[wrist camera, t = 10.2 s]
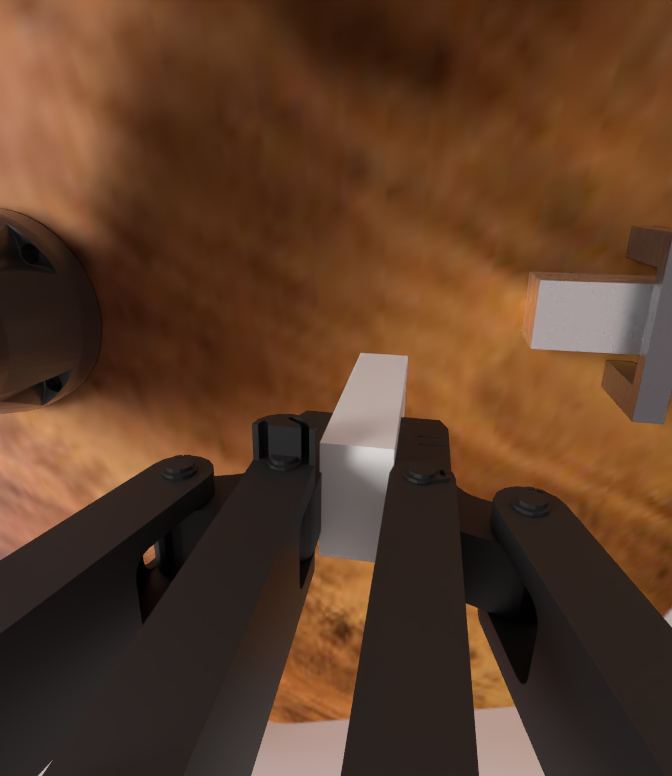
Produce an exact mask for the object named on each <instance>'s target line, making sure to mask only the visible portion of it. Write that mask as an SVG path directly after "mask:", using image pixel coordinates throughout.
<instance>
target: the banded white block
mask: <svg viewBox="0 0 672 776" xmlns="http://www.w3.org/2000/svg"><path fill="white" fill-rule="evenodd" d="M655 278H656V276H650V275H620V274H590V273H561V272H531V271H529V278H528V286H527V293H526V301H525V308H524V316H523V323H522V331H521V334H522V335H523V337H524V339H525V340H526V342H527V344H528V345H529V347H530V348H531V349H544V350H562V351H580V352H598V353H615V354H633V355H639V354H640V349H641V344H642V340H643V335H644V330H645V325H646V321H647V316H648V311H649V307H650V302H651V297H652V292H653V288H654V283H655Z"/></svg>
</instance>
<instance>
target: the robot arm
mask: <svg viewBox="0 0 672 776" xmlns="http://www.w3.org/2000/svg"><path fill="white" fill-rule="evenodd" d="M100 343H101V318H100V311H99V306H98V302H97V299H96V296H95V293H94V290H93V287H92V285H91V283H90V281H89V278H88V276H87V275H86V273H85V271H84V269H83V267H82V266H81V264H80V263H79V261H78V260H77V258H76V257H75V256H74V254H73V253H72V252H71V251H70V249H69V248H68V247H67V246H66V245H65V244H64V243H63V242H62V241H61V240H60V239H59V238H58V237H57V236H56V235H55V234H53V233H52V232H51V231H50V230H48V229H47V228H46V227H44V226H43V225H41V224H40V223H38V222H36V221H35V220H33V219H31V218H29V217H27V216H25V215H22V214H20V213H17V212H14V211H11V210H6V209H1V208H0V414H5V413H15V412H25V411H31V410H35V409H38V408H42V407H44V406H47V405H49V404H51V403H53V402H55V401H57V400H59V399H61V398H63V397H64V396H66V395H68V394H70V393H71V392H73V391H74V390H76V389H77V388H78V387H79V386H80V385H81V384H82V383H83V382H84V381H85V380H86V378H87V377H88V376H89V374H90V373H91V371H92V369H93V367H94V365H95V363H96V360H97V357H98V353H99V349H100ZM407 368H408V356H402V355H387V354H371V353H360V355H359V357H358V360H357V362H356V364H355V366H354V368H353V371H352V373H351V375H350V377H349V379H348V382H347V384H346V386H345V388H344V391H343V393H342V395H341V397H340V399H339V402H338V404H337V406H336V408H335V410H334V413H329V412H317V411H306V412H304V413H302V414H300V415H293V414H277V415H270V416H266V417H263V418H260V419H258V420H257V421H255V422H254V423H253V424H252V431H253V457H254V460H253V461H252V463H251V464H250V466H249V467H248V469H247V470H246V472H245V473H243V474H235V475H223V476H214V468H213V464H212V463H211V462H210V461H209V460H207V459H205V458H202V457H198V456H191V455H184V456H182V455H177V456H174V457H172V458H167V459H164V460H162V461H160V462H157V463H155V464H153V465H152V466H150V467H149V468H147V469H145V470H144V471H142V472H141V473H139V474H137V475H136V476H134V477H133V478H131V479H129V480H128V481H126V482H125V483H123V484H121V485H120V486H118V487H117V488H115V489H114V490H112V491H110V492H109V493H107V494H106V495H104V496H102V497H101V498H99V499H98V500H96V501H94V502H93V503H91V504H90V505H88V506H86V507H85V508H83V509H82V510H80V511H78V512H77V513H75V514H74V515H72V516H70V517H69V518H67V519H66V520H64V521H62V522H61V523H59V524H58V525H56V526H55V527H53V528H51V529H50V530H48V531H47V532H45V533H43V534H42V535H40V536H39V537H37V538H35V539H34V540H32V541H31V542H29V543H27V544H26V545H24V546H23V547H21V548H19V549H18V550H16V551H15V552H13V553H11V554H10V555H8V556H7V557H5V558H3V559H2V560H0V776H38V775H39V774H40V773H41V772H42V771H43V770H44V768H45V767H46V766H47V765H48V764H49V763H50V762H51V761H52V762H51V764H50V765H49V766H48V768H47V770H46V771H45V772H44V774H43V775H42V776H251V774H252V771H253V767H254V764H255V761H256V757H257V754H258V751H259V748H260V744H261V741H262V738H263V735H264V731H265V728H266V725H267V722H268V719H269V716H270V712H271V709H272V706H273V703H274V699H275V696H276V693H277V690H278V686H279V683H280V680H281V677H282V674H283V670H284V667H285V664H286V661H287V657H288V654H289V651H290V648H291V644H292V641H293V638H294V635H295V632H296V628H297V625H298V622H299V619H300V615H301V612H302V609H303V606H304V602H305V599H306V596H307V593H308V589H309V586H310V583H311V580H312V577H313V573H314V564H315V548H316V545H317V542H318V539H319V555H321V556H329V557H337V558H345V559H353V560H361V561H369V562H375V565H374V571H373V578H372V584H371V590H370V596H369V603H368V609H367V615H366V621H365V628H364V634H363V640H362V646H361V653H360V659H359V665H358V671H357V678H356V684H355V690H354V696H353V703H352V709H351V715H350V721H349V728H348V734H347V741H346V747H345V753H344V759H343V765H342V771H341V776H479V771H478V759H477V745H476V734H475V733H476V732H475V719H474V707H473V694H472V681H471V668H470V655H469V642H468V630H467V617H466V604H465V603H467V604H469V605H472V606H474V607H477V608H478V617H479V621H480V624H481V626H482V628H483V631H484V633H485V636H486V638H487V640H488V643H489V645H490V647H491V650H492V652H493V654H494V657H495V659H496V661H497V664H498V666H499V668H500V671H501V673H502V676H503V678H504V680H505V683H506V685H507V687H508V690H509V692H510V694H511V697H512V699H513V701H514V704H515V706H516V708H517V711H518V713H519V715H520V718H521V720H522V723H523V725H524V727H525V729H526V732H527V734H528V736H529V739H530V741H531V744H532V746H533V748H534V751H535V753H536V756H537V758H538V760H539V763H540V765H541V767H542V770H543V772H544V774H545V776H672V627H671V626H670V625H669V624H668V623H667V621H666V620H665V619H664V618H663V617H662V616H661V614H660V613H659V612H658V611H657V610H656V609H655V608H654V606H653V605H652V604H651V603H650V602H649V601H648V599H647V598H646V597H645V596H644V595H643V594H642V592H641V591H640V590H639V589H638V588H637V587H636V585H635V584H634V583H633V582H632V581H631V580H630V579H629V577H628V576H627V575H626V574H625V573H624V572H623V570H622V569H621V568H620V567H619V566H618V565H617V563H616V562H615V561H614V560H613V559H612V558H611V556H610V555H609V554H608V553H607V552H606V551H605V549H604V548H603V547H602V546H601V545H600V544H599V543H598V541H597V540H596V539H595V538H594V537H593V536H592V534H591V533H590V532H589V531H588V530H587V529H586V527H585V526H584V525H583V524H582V523H581V522H580V520H579V519H578V518H577V517H576V516H575V515H574V513H573V512H572V511H571V510H570V509H569V508H568V507H567V505H566V504H565V503H563V502H562V501H561V500H560V499H558V498H557V497H556V496H553V495H551V494H549V493H547V492H545V491H543V490H540V489H535V488H533V487H518V486H516V487H509V488H504V489H502V490H500V491H498V492H497V493H496V494H495V496H494V498H493V502H491V501H487V500H484V499H480V498H478V497H475V496H472V495H470V494H468V493H466V492H464V491H463V490H461V489H460V488H459V487H457V486H456V479H455V477H454V474H453V473H452V472H451V463H450V448H449V434H448V428H447V427H446V426H445V425H444V424H443V423H442V422H441V421H440V420H430V419H418V418H406V417H404V412H405V397H406V383H407ZM152 545H154V549H155V557H156V558H154V559H153V560H152V561H151V562H150V563H148V564H146V565H145V564H144V561H143V554H144V553H145V552H146V551H147V550H148V549H149V548H150V547H151V546H152Z"/></svg>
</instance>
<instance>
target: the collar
mask: <svg viewBox="0 0 672 776" xmlns="http://www.w3.org/2000/svg"><path fill="white" fill-rule="evenodd" d="M626 257H627V258H630V259H633V260H636V261H639V262H642V263H645V264H649V265H652V266H655V267H658V269H657V274H656V278H655V283H654V288H653V292H652V297H651V302H650V307H649V311H648V316H647V321H646V325H645V330H644V335H643V340H642V344H641V349H640V354H639V358H638V363H637V365H636V364H635V363H634V362H632V361H614V360H606V365H605V370H604V375H603V380H602V388H603V389H604V390H605V391H606V392H607V393H608V394H609V396H610V397H611V398H612V399H613V400H614V401H615V402H616V404H617V405H618V406H619V407H620V408H621V409H622V410H623V412H624V413H625V414H626V415H627V416H628V417H629V419H630V420H631V421H632V422H641V423H654V424H664V421H665V417H666V413H667V408H668V404H669V400H670V396H671V392H672V228H666V227H640V226H632V229H631V234H630V239H629V244H628V250H627V255H626Z"/></svg>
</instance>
